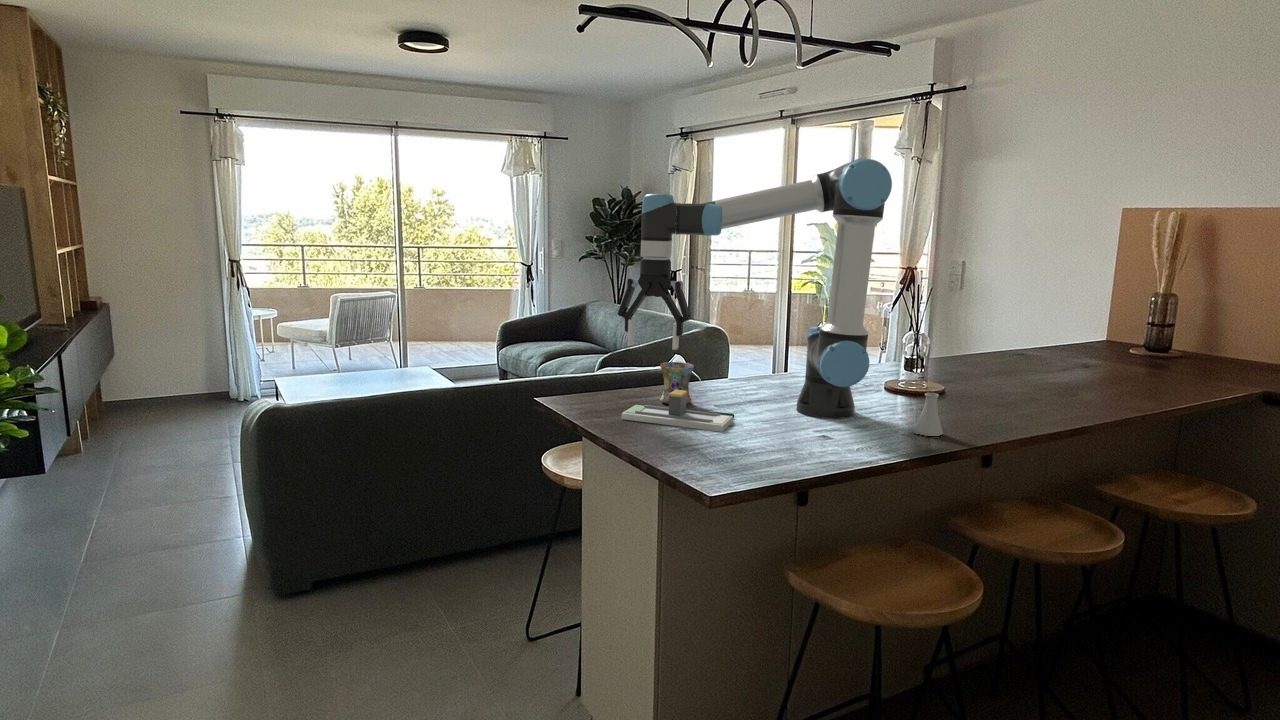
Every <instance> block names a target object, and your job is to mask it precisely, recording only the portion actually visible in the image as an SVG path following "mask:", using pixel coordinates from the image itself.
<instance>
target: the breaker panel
mask: <svg viewBox="0 0 1280 720" xmlns="http://www.w3.org/2000/svg"><path fill="white" fill-rule="evenodd" d="M666 407H667V406H659V407H658V405H649V404H645V405H643V406H642V404H641V405H640V404H635V405H634V406H633V405H632V406H631V407H630V408H628V409H626V410H624V411H623V412H621V420H626V421H635V422H641V423H642V422H643V423H649V424H650V423H651V424H659V425H666V426H675V427H680V428H681V427H683V428H690V429H698V430H707V431H714V432H721V433H723V432H724V431H725V430H726V429H728V427H729V426H730V425H731V424H732V423H733V419H734V418H733V416H726V415H720V414H717V413H709V412H700V411H701V410H700V411H692V410H693V409H690V410H686V413H685V414H683V415H682V416H677V415H669V408H666Z"/></svg>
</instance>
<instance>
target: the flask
mask: <svg viewBox="0 0 1280 720" xmlns="http://www.w3.org/2000/svg"><path fill="white" fill-rule="evenodd" d="M924 396H925V400H924V405H923V409H922V411H921V413H920V415H919V416H918V419H917V421H916V423H915V425H914V426H913V428H912V432H913V431H914V433H918V434H921V435H926V436H927V435H928V436H939V435H942V434H943V435H944V432H943V428H942V424H941V420H940V416H939V411H938V398H939V397H940V395H939V393H935V392H926V393H924ZM914 433H913V434H914ZM921 435H920V436H921ZM926 436H925V437H926Z"/></svg>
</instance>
